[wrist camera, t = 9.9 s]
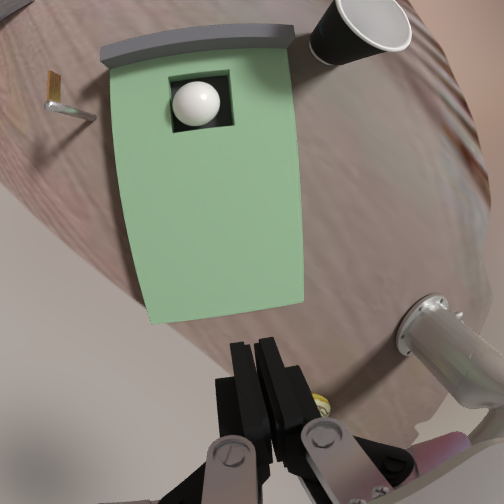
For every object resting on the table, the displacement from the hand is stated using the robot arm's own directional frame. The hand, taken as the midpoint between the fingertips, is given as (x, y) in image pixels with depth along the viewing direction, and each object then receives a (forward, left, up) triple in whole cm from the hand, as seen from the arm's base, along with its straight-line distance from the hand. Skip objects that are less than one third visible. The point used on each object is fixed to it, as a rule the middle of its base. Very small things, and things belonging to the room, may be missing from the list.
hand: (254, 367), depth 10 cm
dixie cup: (-14, -21, -21) cm, 33 cm away
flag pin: (+13, -16, -21) cm, 29 cm away
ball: (+1, -13, -19) cm, 23 cm away
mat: (+1, -6, -21) cm, 22 cm away
